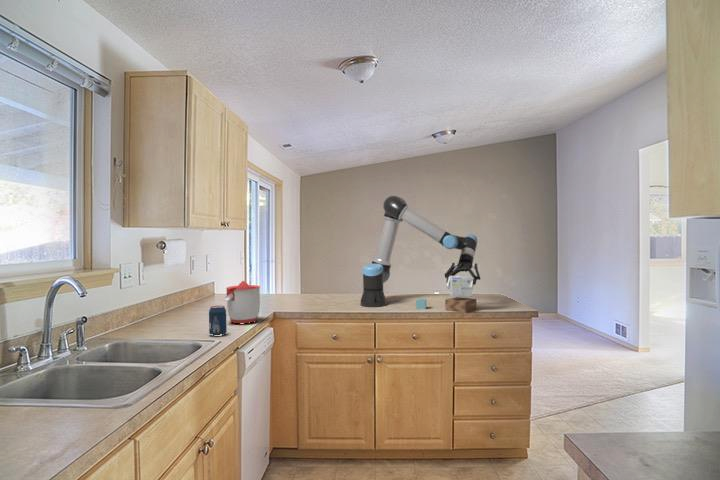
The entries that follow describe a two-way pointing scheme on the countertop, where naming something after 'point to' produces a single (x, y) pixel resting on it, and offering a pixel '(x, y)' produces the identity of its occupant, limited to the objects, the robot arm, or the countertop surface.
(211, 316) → the soda can
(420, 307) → the teal block
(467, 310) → the walnut block
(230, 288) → the citrus juicer
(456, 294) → the light bulb box
